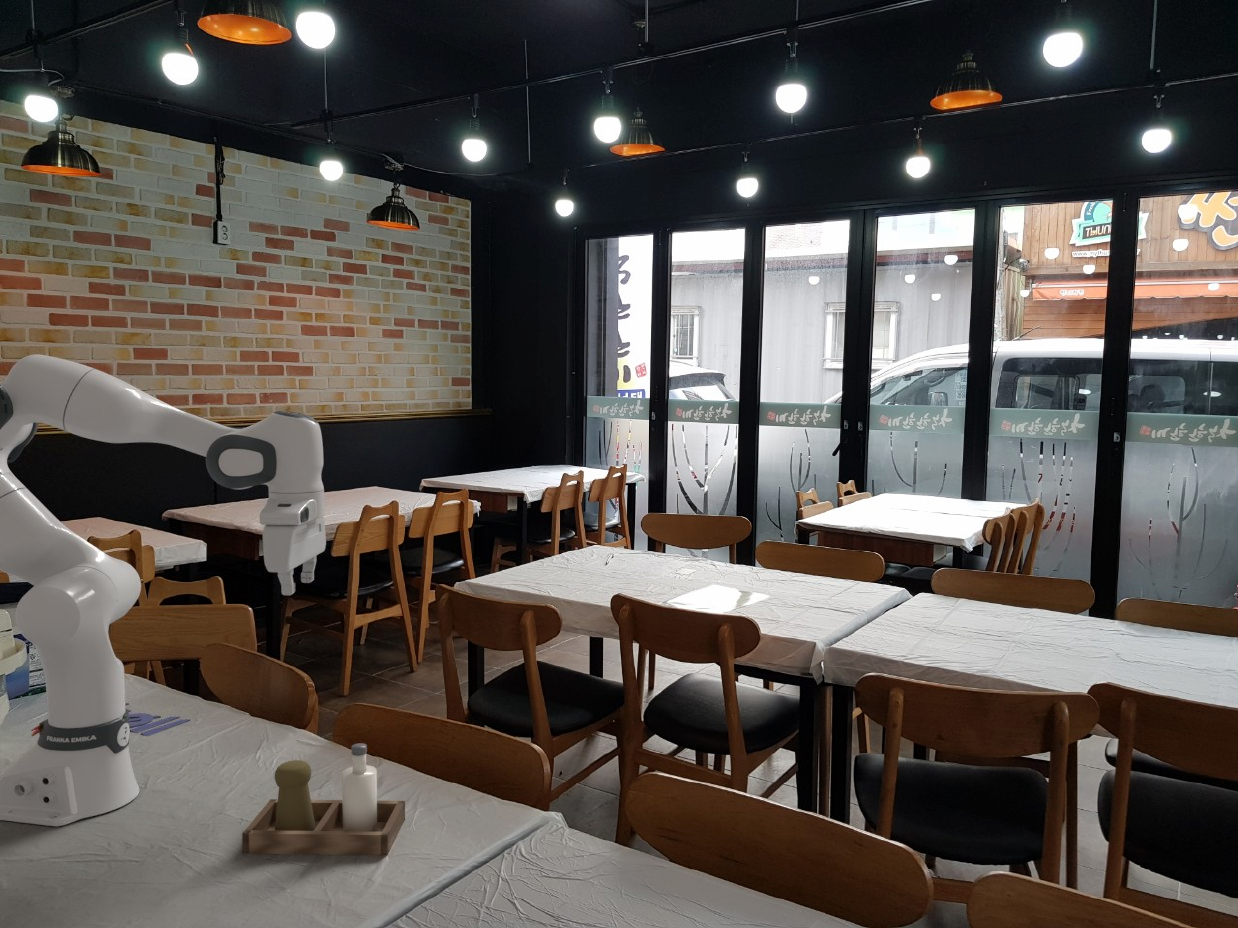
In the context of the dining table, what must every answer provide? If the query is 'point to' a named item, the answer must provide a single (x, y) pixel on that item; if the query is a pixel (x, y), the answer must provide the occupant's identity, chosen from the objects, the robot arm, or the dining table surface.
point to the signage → (147, 718)
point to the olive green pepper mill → (294, 797)
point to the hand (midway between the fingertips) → (298, 588)
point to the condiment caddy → (324, 832)
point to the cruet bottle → (359, 793)
